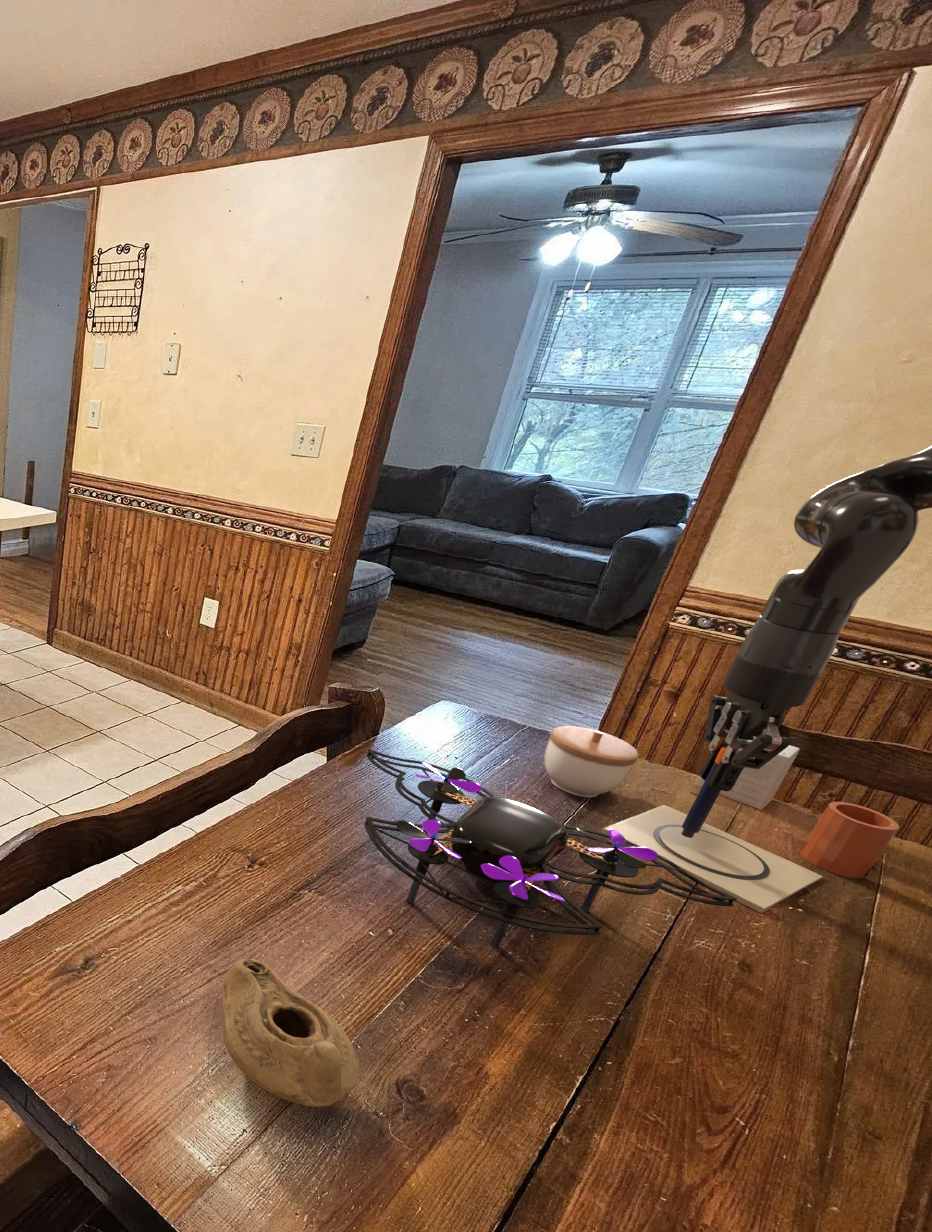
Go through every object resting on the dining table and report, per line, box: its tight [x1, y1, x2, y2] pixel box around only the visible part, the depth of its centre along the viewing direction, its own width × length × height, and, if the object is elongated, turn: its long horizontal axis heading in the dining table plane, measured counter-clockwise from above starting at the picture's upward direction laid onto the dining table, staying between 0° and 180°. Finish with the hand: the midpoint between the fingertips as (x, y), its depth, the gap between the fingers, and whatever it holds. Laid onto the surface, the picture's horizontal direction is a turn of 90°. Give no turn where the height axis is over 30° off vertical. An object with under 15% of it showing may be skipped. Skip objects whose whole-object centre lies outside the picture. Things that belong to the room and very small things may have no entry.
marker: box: [681, 747, 740, 838], centre depth 102 cm, size 2×2×13 cm
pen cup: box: [799, 801, 900, 879], centre depth 102 cm, size 6×6×8 cm
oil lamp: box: [221, 958, 360, 1108], centre depth 69 cm, size 11×15×8 cm
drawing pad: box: [601, 804, 824, 914], centre depth 104 cm, size 16×18×1 cm
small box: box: [689, 740, 800, 810], centre depth 115 cm, size 8×6×10 cm
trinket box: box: [543, 725, 640, 798], centre depth 117 cm, size 11×11×9 cm
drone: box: [364, 748, 737, 949], centre depth 91 cm, size 40×10×28 cm
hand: (714, 783), depth 101 cm, fingers closed on marker, 2 cm apart
